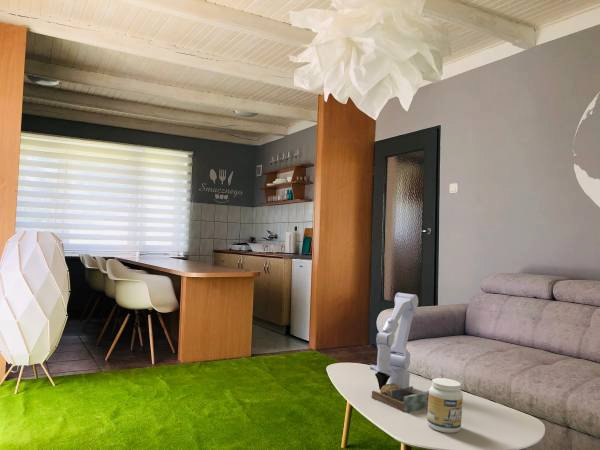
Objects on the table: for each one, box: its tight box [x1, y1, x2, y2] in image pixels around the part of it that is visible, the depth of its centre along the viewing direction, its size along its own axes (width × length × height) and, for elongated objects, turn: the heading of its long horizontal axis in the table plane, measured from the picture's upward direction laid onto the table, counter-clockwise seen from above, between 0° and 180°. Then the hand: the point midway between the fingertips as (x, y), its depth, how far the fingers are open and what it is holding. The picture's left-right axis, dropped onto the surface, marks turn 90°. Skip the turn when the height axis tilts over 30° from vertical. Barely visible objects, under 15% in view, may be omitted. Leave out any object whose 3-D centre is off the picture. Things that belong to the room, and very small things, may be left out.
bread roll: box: [379, 383, 400, 397], centre depth 212 cm, size 10×10×8 cm
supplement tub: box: [426, 377, 464, 434], centre depth 182 cm, size 12×12×17 cm
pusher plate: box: [391, 385, 414, 403], centre depth 208 cm, size 13×1×6 cm, turn 127°
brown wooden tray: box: [371, 387, 429, 413], centre depth 208 cm, size 16×19×6 cm
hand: (381, 389), depth 217 cm, fingers closed
